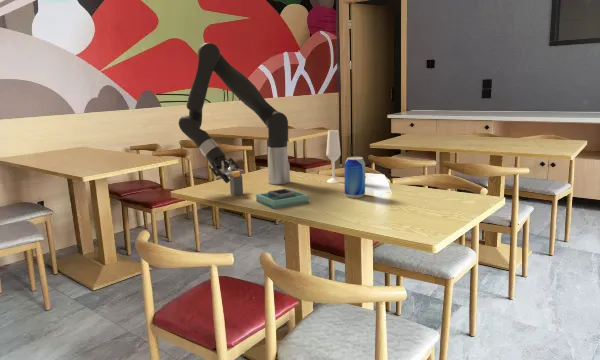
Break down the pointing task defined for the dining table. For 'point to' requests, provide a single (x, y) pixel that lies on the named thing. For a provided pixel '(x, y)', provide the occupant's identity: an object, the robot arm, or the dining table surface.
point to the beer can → (354, 177)
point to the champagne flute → (333, 151)
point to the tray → (282, 200)
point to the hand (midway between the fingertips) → (234, 179)
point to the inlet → (281, 194)
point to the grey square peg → (236, 183)
